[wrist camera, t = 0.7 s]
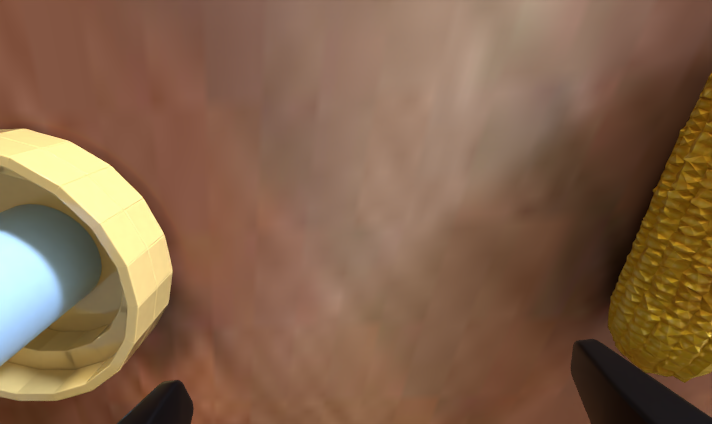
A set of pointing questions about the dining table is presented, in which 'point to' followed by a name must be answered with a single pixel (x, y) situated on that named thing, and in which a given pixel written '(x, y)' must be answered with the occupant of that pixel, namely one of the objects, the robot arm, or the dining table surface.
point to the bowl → (118, 273)
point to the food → (672, 263)
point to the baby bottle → (41, 271)
